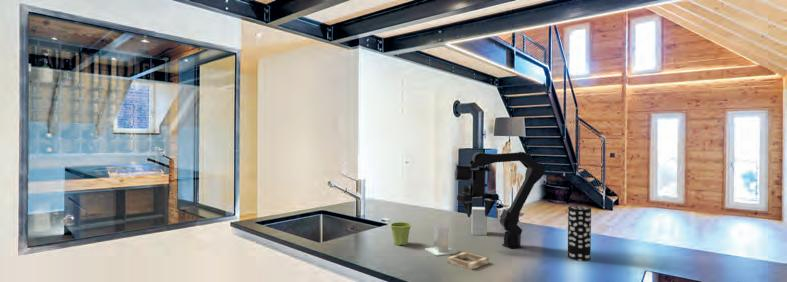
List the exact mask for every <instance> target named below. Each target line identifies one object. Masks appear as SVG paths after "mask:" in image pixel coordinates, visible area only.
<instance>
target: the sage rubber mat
mask: <svg viewBox="0 0 787 282" xmlns="http://www.w3.org/2000/svg"><path fill="white" fill-rule="evenodd" d="M424 250H425V251H426V252H428V253H430V254H431V255H433V256H435V255H436V257H442V256H447V255H457V254H459V252H458V251H457V250H455V249H452V248H450V247H449V246H448V252H437V251H436V250H435V249H434V246H433V247H425V248H424Z"/></svg>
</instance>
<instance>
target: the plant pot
mask: <svg viewBox="0 0 787 282" xmlns="http://www.w3.org/2000/svg"><path fill="white" fill-rule="evenodd" d="M389 224H390V228H391V231H392V238H393V244H394V245H396V246H401V245H402V246H406V245H408V243H409V237H410V236H409V235H410V230H411V227H412V224H411V223H409V222H405V221H404V222H403V221H397V222H392V223H389Z"/></svg>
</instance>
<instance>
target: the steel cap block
mask: <svg viewBox="0 0 787 282" xmlns="http://www.w3.org/2000/svg"><path fill="white" fill-rule="evenodd" d="M449 229H450V228H449V226H447V225H446V224H435V225H434V226H433V247H434V249H435V250H436V251H437V252H448V247H449V239H450V238H449Z"/></svg>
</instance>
